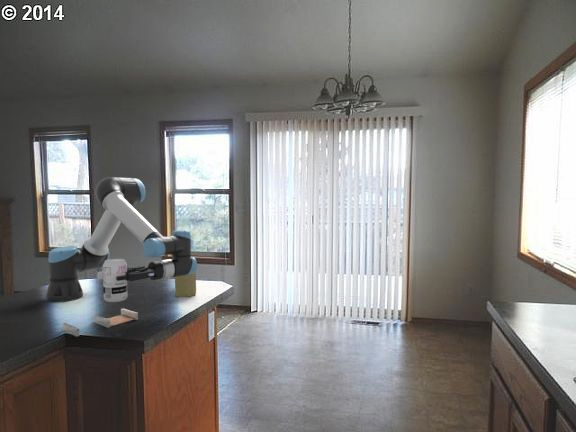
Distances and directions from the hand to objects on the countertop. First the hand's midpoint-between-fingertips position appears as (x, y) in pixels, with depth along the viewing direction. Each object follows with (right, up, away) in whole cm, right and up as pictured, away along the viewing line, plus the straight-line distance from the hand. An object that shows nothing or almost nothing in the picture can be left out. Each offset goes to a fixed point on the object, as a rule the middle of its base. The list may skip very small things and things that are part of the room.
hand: (102, 277), depth 144 cm
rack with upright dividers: (0, -17, 0) cm, 17 cm away
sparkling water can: (+3, -9, +4) cm, 10 cm away
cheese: (+17, -15, +51) cm, 56 cm away
